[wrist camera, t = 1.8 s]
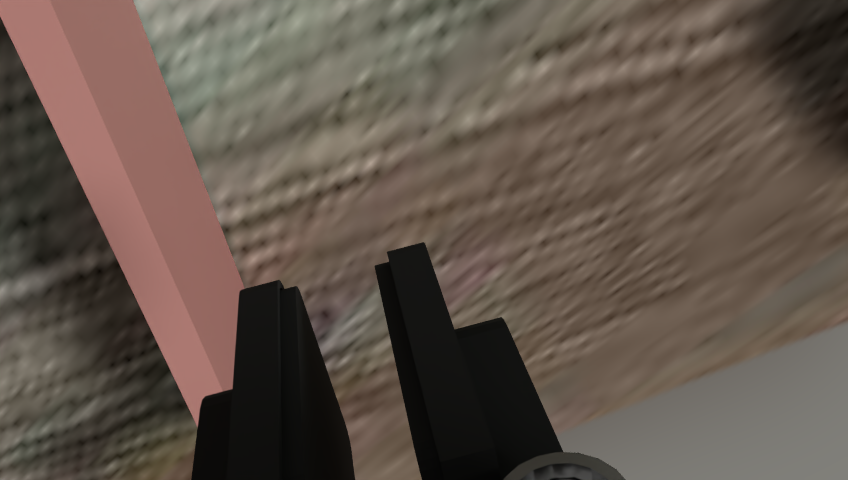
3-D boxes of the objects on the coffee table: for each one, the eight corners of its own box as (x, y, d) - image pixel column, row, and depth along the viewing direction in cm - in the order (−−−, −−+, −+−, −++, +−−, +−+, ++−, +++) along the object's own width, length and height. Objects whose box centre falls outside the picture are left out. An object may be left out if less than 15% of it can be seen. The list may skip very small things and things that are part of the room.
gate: (29, -134, 24) (-78, -104, 16) (78, -145, 24) (-7, -121, 16) (219, 320, 33) (204, 467, 25) (254, 310, 33) (249, 455, 26)
